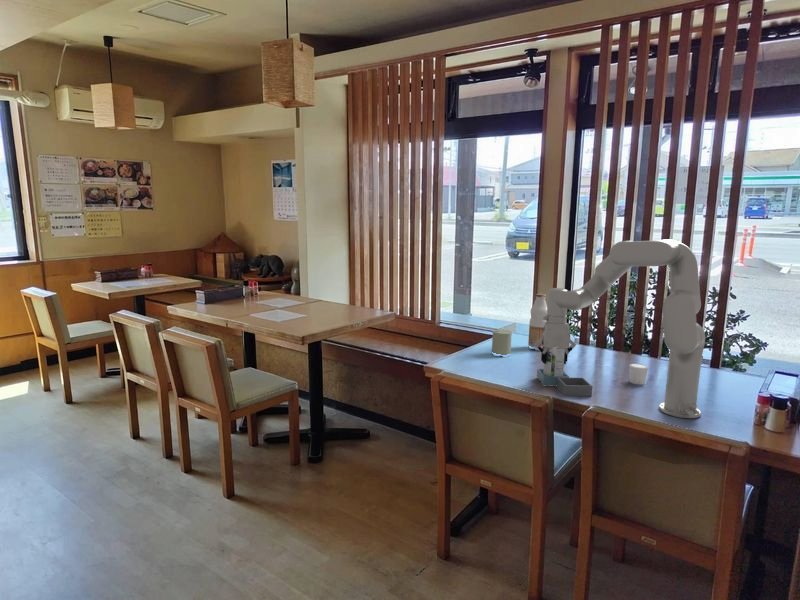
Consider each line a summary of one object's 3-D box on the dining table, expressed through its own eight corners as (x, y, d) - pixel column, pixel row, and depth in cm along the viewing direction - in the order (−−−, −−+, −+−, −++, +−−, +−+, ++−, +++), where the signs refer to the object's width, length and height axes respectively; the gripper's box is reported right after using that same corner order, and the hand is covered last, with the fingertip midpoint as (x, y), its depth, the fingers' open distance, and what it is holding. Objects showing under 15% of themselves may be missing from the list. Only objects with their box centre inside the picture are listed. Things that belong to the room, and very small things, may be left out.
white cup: (636, 385, 201) (637, 368, 200) (624, 380, 208) (625, 363, 207) (650, 384, 203) (652, 367, 202) (638, 379, 209) (639, 362, 208)
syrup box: (542, 377, 205) (544, 343, 202) (553, 376, 207) (556, 341, 205) (551, 382, 200) (553, 346, 197) (563, 380, 202) (565, 345, 200)
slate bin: (568, 386, 199) (569, 376, 198) (543, 386, 199) (543, 376, 198) (560, 378, 208) (561, 369, 208) (536, 378, 209) (537, 368, 208)
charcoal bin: (591, 396, 188) (592, 386, 187) (564, 396, 188) (565, 385, 187) (582, 387, 198) (583, 377, 197) (556, 387, 198) (557, 377, 197)
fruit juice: (527, 350, 254) (531, 295, 249) (528, 345, 263) (531, 292, 258) (547, 351, 251) (550, 296, 247) (547, 347, 260) (550, 293, 256)
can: (489, 352, 248) (490, 328, 246) (507, 352, 249) (508, 328, 247) (494, 357, 239) (495, 332, 237) (513, 357, 240) (514, 332, 238)
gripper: (537, 321, 196) (534, 365, 199) (581, 321, 196) (578, 365, 198) (532, 317, 203) (529, 360, 206) (575, 318, 203) (572, 360, 206)
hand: (553, 362), depth 202 cm, fingers closed on syrup box, 7 cm apart
